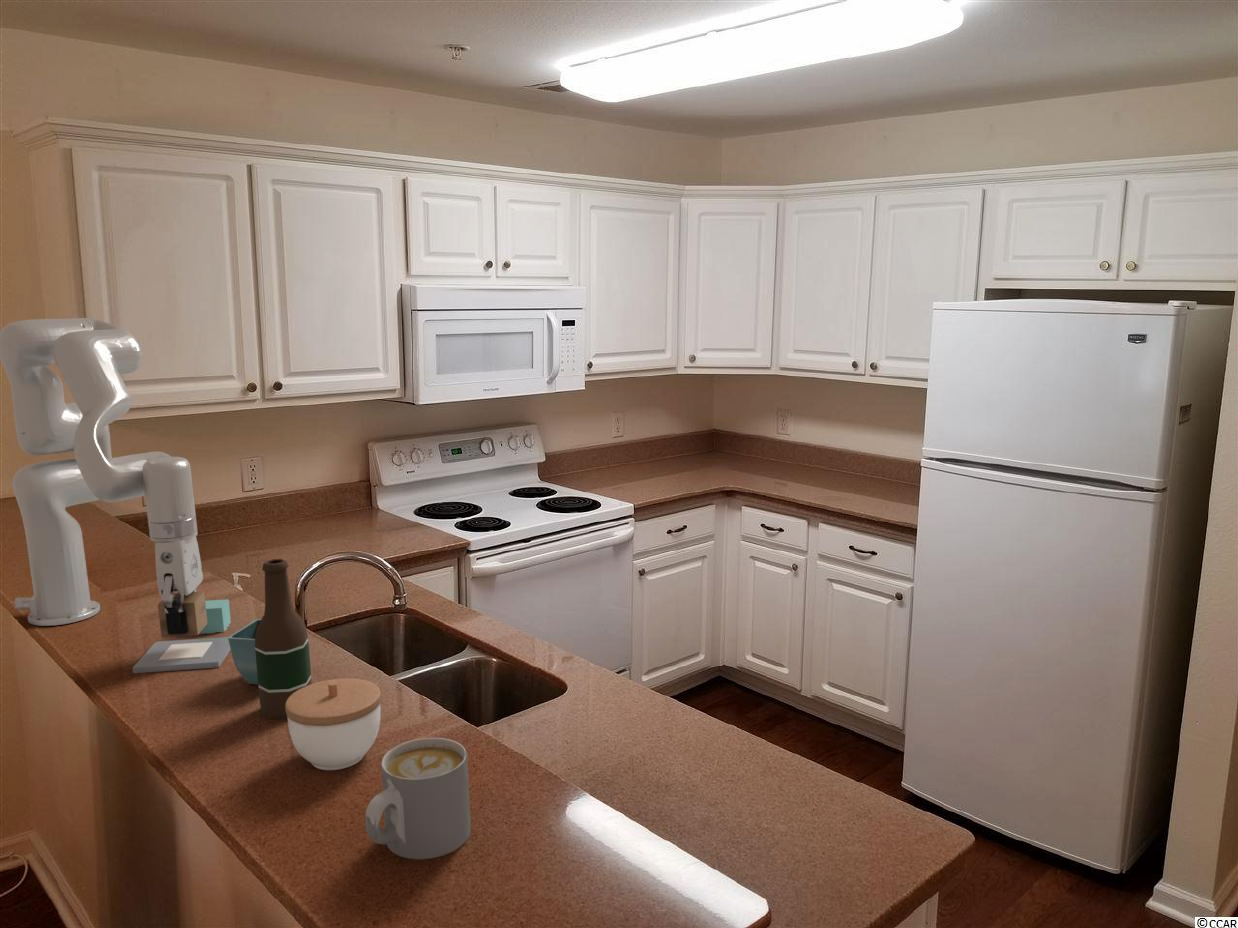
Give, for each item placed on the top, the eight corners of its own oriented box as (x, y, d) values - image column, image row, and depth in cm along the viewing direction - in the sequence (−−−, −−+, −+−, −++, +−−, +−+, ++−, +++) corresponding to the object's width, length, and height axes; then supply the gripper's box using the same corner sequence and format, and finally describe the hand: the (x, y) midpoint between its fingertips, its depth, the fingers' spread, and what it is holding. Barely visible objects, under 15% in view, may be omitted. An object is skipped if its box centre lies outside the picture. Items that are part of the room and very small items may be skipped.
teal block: (196, 634, 177) (194, 609, 176) (204, 625, 182) (201, 600, 181) (224, 632, 178) (221, 607, 177) (230, 623, 183) (228, 599, 182)
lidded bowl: (333, 790, 121) (327, 711, 119) (270, 765, 128) (264, 690, 126) (403, 749, 132) (399, 676, 130) (341, 728, 138) (336, 658, 136)
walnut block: (161, 637, 162) (157, 604, 160) (172, 625, 167) (168, 593, 166) (197, 635, 162) (194, 602, 161) (207, 623, 168) (204, 591, 167)
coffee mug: (443, 802, 118) (439, 729, 116) (486, 835, 111) (483, 758, 109) (344, 844, 110) (338, 766, 108) (384, 883, 102) (379, 800, 100)
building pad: (133, 673, 159) (132, 666, 159) (156, 646, 171) (155, 640, 171) (219, 667, 161) (218, 660, 161) (236, 641, 173) (235, 635, 173)
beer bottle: (264, 724, 140) (250, 571, 135) (257, 704, 147) (244, 558, 142) (317, 713, 143) (305, 564, 139) (309, 694, 150) (297, 551, 146)
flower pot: (279, 692, 151) (275, 640, 149) (231, 688, 152) (226, 637, 151) (308, 671, 159) (304, 621, 157) (261, 667, 161) (257, 618, 159)
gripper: (180, 540, 154) (192, 643, 157) (209, 515, 170) (219, 609, 174) (132, 542, 153) (144, 646, 156) (166, 517, 169) (177, 611, 173)
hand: (184, 625), depth 165 cm, fingers closed on walnut block, 6 cm apart
